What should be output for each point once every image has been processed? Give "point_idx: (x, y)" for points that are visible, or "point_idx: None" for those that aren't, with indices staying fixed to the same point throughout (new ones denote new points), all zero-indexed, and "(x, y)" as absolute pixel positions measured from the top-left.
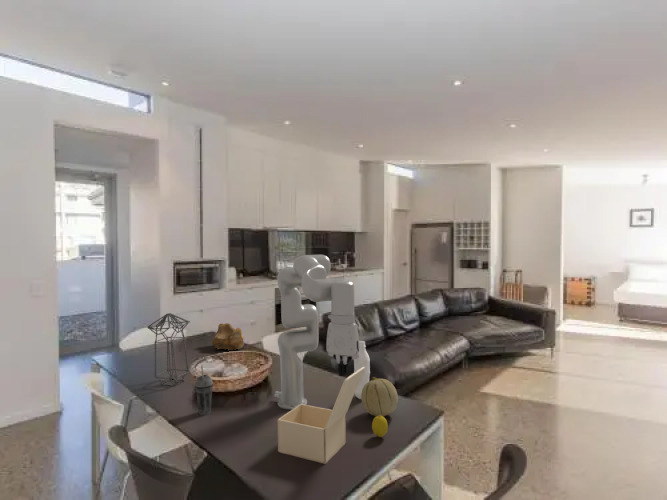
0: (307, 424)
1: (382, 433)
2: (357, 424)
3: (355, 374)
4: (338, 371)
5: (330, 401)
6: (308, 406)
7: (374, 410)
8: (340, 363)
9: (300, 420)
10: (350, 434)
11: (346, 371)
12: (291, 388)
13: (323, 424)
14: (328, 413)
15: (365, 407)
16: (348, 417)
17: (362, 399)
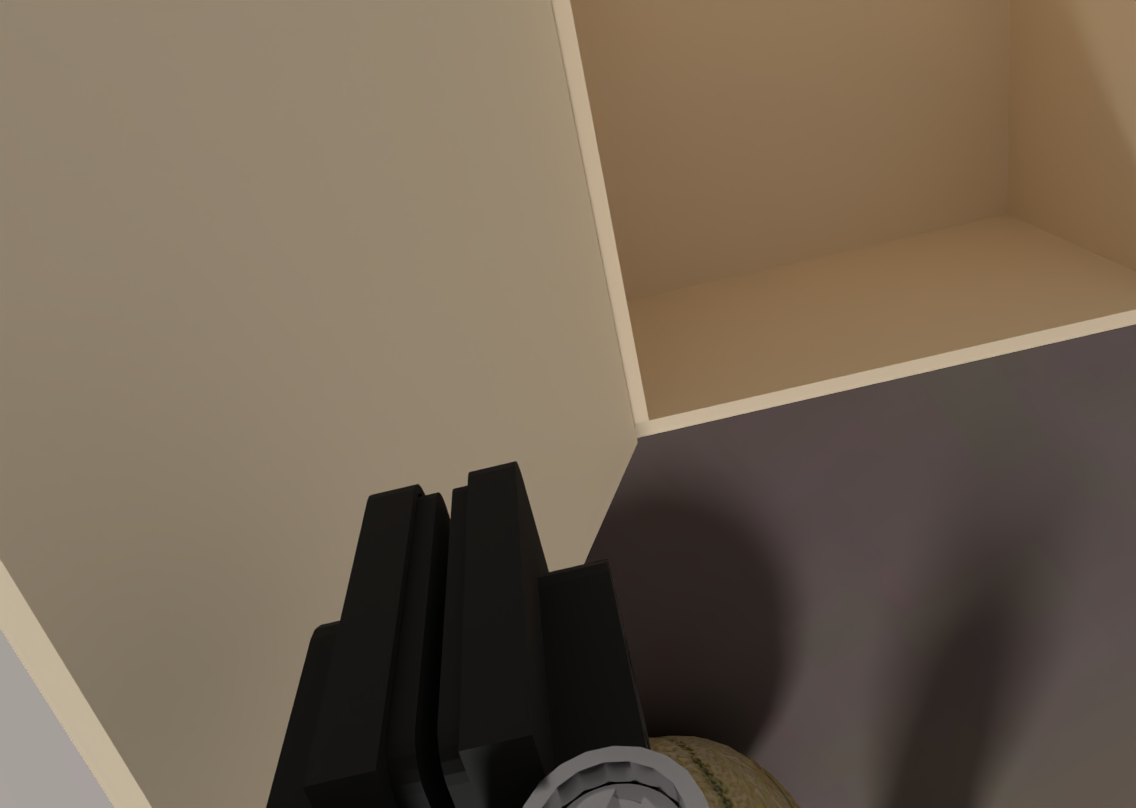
0: (994, 252)
1: None
2: (704, 595)
3: (80, 708)
4: (602, 562)
5: (1079, 737)
6: (1090, 317)
7: None
8: (522, 805)
9: (1081, 227)
10: (655, 451)
11: (311, 653)
12: None
13: (834, 301)
14: (819, 360)
15: (726, 754)
16: (825, 636)
17: (775, 803)
